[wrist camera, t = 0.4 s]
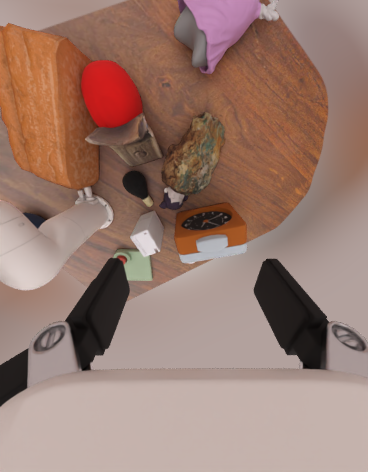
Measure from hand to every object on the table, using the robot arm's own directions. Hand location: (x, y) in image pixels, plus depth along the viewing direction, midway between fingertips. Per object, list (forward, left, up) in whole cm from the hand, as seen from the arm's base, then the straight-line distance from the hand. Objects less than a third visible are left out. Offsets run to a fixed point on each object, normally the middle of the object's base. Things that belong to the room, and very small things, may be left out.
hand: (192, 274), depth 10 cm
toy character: (-24, -1, -38) cm, 45 cm away
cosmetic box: (+16, -11, -43) cm, 48 cm away
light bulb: (+4, -14, -43) cm, 46 cm away
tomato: (-23, -17, -37) cm, 47 cm away
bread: (-11, -24, -36) cm, 44 cm away
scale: (+36, -20, -43) cm, 60 cm away
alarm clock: (+14, +7, -43) cm, 46 cm away
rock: (0, +8, -40) cm, 41 cm away
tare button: (+31, -24, -40) cm, 56 cm away
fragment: (-10, -14, -37) cm, 41 cm away
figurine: (+2, -4, -43) cm, 43 cm away
